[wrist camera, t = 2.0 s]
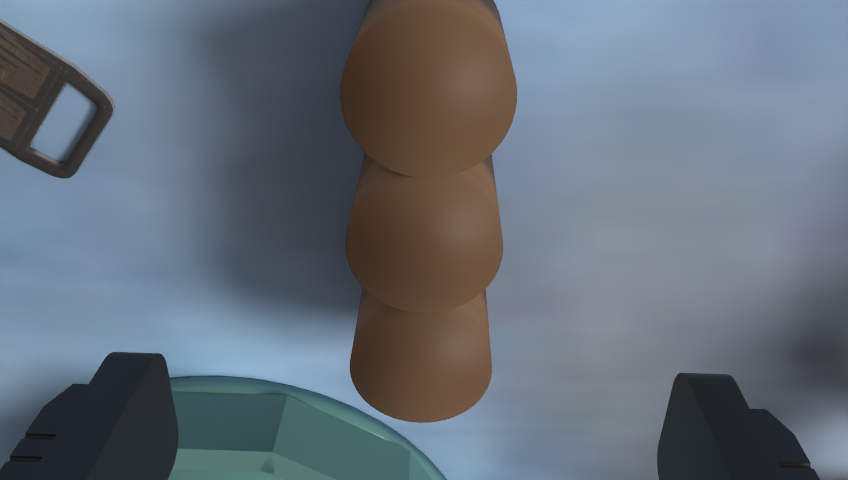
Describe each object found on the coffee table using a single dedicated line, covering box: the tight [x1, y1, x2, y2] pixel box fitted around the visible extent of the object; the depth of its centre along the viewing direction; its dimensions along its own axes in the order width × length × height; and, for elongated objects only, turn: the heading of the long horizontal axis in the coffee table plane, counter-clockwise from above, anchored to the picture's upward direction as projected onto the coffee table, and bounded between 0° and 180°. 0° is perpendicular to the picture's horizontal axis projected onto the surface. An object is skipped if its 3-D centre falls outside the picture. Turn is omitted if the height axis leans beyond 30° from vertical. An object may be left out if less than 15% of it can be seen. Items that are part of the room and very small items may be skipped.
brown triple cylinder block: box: [340, 0, 517, 423], centre depth 17 cm, size 10×3×4 cm, turn 179°
